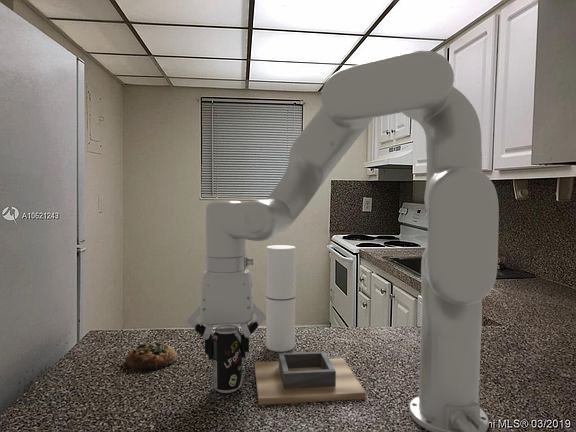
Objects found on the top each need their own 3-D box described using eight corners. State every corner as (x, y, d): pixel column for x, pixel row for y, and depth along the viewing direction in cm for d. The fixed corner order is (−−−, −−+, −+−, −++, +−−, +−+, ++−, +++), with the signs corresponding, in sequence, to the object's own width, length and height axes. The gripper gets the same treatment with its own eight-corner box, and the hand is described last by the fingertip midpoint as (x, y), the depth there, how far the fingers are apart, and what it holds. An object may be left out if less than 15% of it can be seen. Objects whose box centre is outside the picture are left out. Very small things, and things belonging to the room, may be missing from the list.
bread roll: (125, 375, 86) (125, 350, 87) (125, 362, 97) (126, 340, 97) (179, 369, 90) (180, 345, 91) (174, 357, 101) (174, 336, 101)
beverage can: (246, 383, 83) (245, 324, 82) (236, 396, 77) (235, 334, 77) (219, 380, 84) (219, 322, 84) (207, 393, 79) (206, 331, 78)
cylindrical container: (269, 352, 99) (270, 249, 97) (263, 342, 106) (263, 245, 104) (298, 349, 101) (299, 248, 99) (290, 339, 108) (291, 244, 106)
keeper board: (365, 398, 77) (365, 376, 77) (258, 404, 75) (258, 382, 74) (343, 363, 93) (343, 345, 93) (254, 367, 90) (254, 348, 90)
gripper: (269, 260, 84) (269, 347, 85) (183, 262, 82) (184, 351, 83) (272, 267, 77) (272, 361, 78) (177, 269, 75) (179, 366, 76)
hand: (227, 355), depth 80 cm, fingers closed on beverage can, 5 cm apart
